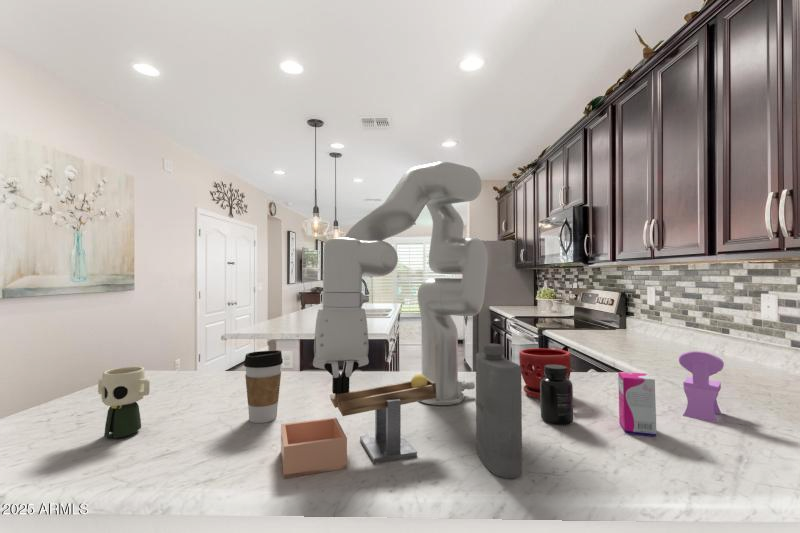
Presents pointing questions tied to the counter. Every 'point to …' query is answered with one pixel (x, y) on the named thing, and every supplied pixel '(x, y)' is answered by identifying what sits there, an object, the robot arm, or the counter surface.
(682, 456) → the counter surface
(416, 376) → the ball
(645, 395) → the supplement box
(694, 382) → the toy chair
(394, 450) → the pivot stand
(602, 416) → the counter surface
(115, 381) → the character mug
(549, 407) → the supplement bottle
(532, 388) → the plant pot
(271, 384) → the coffee cup
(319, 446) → the pink open box
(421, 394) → the lever
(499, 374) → the flask
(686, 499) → the counter surface
